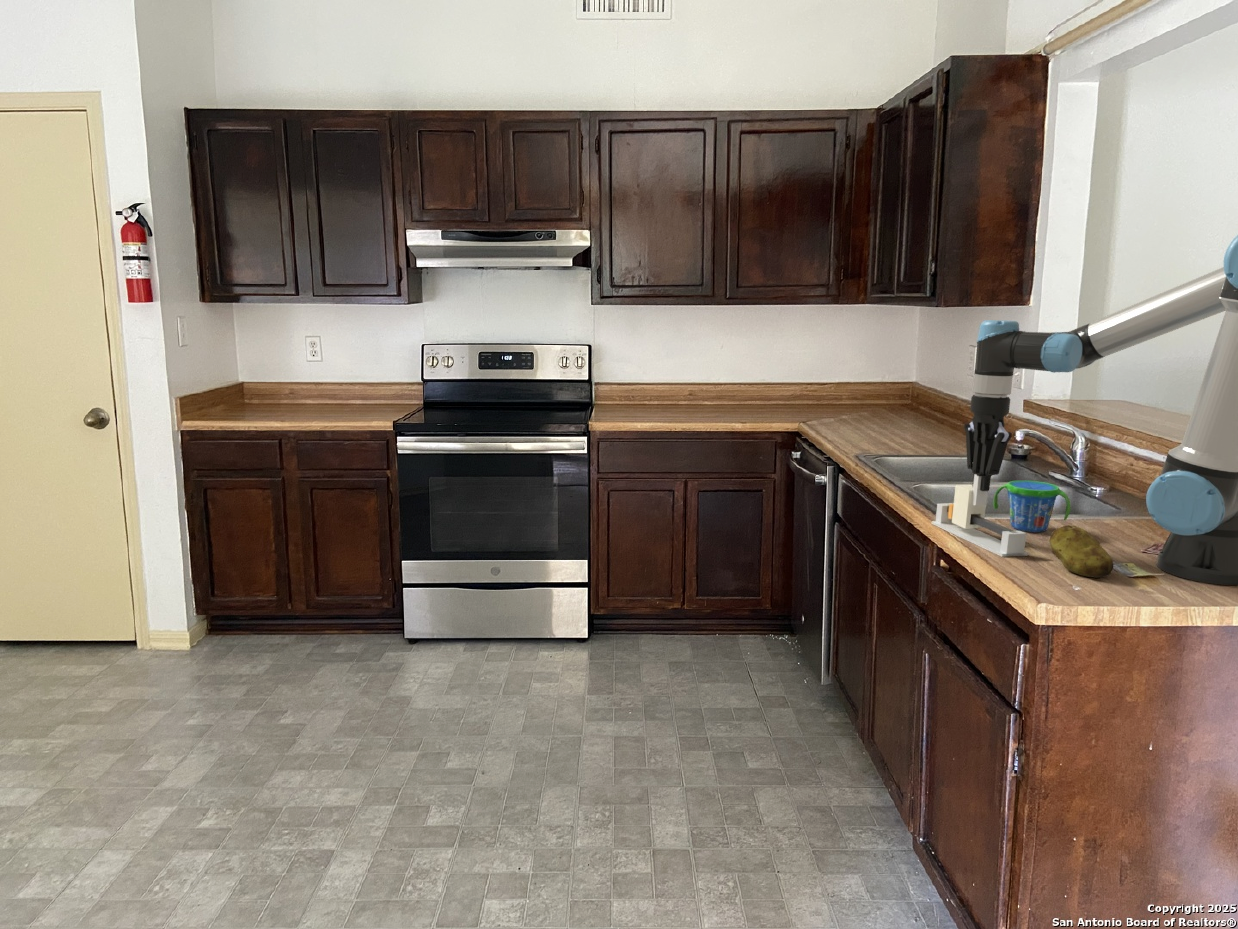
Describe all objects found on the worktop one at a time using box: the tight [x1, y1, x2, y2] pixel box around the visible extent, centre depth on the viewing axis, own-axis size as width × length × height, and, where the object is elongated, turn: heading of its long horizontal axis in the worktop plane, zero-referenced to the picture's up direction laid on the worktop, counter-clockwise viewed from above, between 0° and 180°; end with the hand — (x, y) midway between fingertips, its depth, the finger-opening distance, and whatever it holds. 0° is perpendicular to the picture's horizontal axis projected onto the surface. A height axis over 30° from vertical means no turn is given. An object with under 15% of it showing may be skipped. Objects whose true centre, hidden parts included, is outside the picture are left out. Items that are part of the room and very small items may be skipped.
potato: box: [1049, 525, 1114, 579], centre depth 164 cm, size 8×13×8 cm, turn 177°
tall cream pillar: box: [952, 484, 987, 529], centre depth 187 cm, size 5×4×8 cm
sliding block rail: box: [931, 502, 1029, 558], centre depth 184 cm, size 25×6×6 cm, turn 13°
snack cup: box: [993, 479, 1071, 533], centre depth 193 cm, size 16×10×10 cm
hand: (978, 504), depth 184 cm, fingers closed
